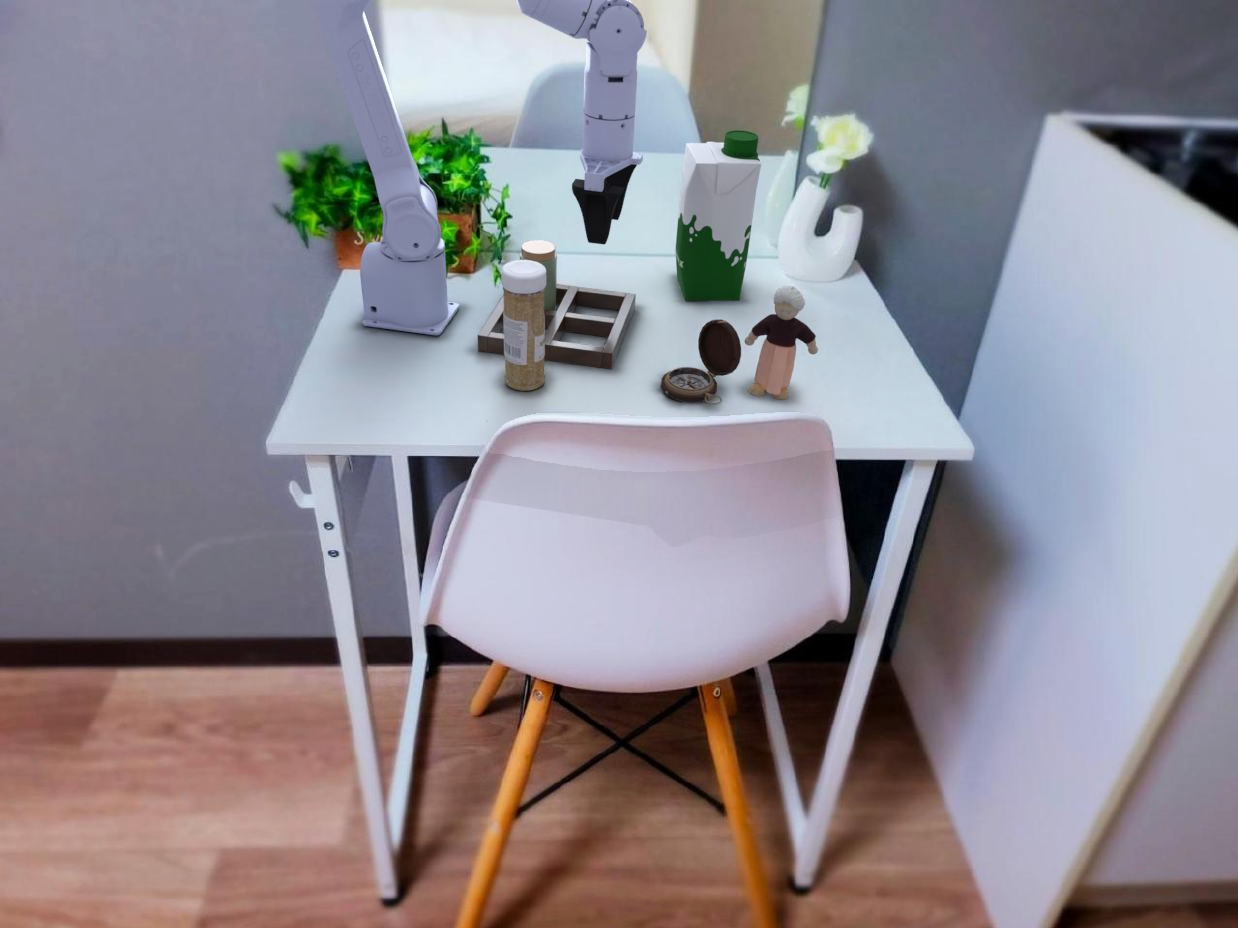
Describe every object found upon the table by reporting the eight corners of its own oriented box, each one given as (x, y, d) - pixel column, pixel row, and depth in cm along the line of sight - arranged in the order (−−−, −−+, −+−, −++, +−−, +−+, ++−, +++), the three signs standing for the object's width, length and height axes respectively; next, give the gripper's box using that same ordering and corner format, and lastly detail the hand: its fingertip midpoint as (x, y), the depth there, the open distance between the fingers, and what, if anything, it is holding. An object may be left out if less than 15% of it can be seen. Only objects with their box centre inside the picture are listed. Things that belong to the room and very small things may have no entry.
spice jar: (516, 317, 119) (515, 251, 115) (525, 301, 123) (525, 237, 118) (551, 322, 119) (552, 256, 114) (559, 306, 123) (560, 241, 118)
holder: (477, 350, 112) (477, 335, 111) (514, 292, 125) (514, 278, 124) (611, 369, 110) (612, 353, 109) (635, 308, 123) (636, 293, 122)
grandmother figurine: (739, 399, 107) (755, 292, 99) (738, 380, 110) (752, 276, 102) (810, 404, 107) (831, 297, 99) (806, 385, 110) (826, 281, 102)
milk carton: (748, 303, 126) (769, 147, 114) (678, 304, 125) (693, 146, 113) (734, 274, 133) (753, 124, 121) (668, 274, 132) (680, 123, 120)
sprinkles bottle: (553, 386, 107) (554, 271, 99) (516, 396, 105) (514, 280, 97) (532, 367, 110) (532, 254, 102) (496, 377, 108) (493, 263, 100)
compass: (648, 385, 108) (653, 326, 104) (703, 366, 112) (710, 308, 108) (695, 418, 103) (702, 358, 99) (750, 398, 107) (759, 338, 103)
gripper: (632, 136, 102) (625, 258, 110) (655, 99, 114) (647, 212, 121) (566, 129, 103) (564, 250, 111) (595, 92, 114) (591, 205, 122)
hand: (603, 230), depth 116 cm, fingers open, 7 cm apart
